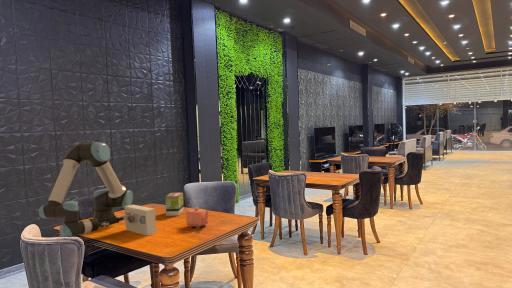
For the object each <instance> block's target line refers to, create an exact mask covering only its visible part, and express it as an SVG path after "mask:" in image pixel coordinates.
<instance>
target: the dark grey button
mask: <svg viewBox="0 0 512 288" xmlns="http://www.w3.org/2000/svg"><path fill="white" fill-rule="evenodd" d="M140 223H141V224H144V223H145V216H141V217H140Z"/></svg>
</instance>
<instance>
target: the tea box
mask: <svg viewBox="0 0 512 288" xmlns="http://www.w3.org/2000/svg"><path fill="white" fill-rule="evenodd" d="M184 208H185V207H184V192H170V193H168V194H167V195H166V196H165V216H166V217H174V216H175V217H177V216H178V217H180V215H181V214H182V213H183V212H184Z"/></svg>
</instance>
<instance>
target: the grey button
mask: <svg viewBox="0 0 512 288" xmlns="http://www.w3.org/2000/svg"><path fill="white" fill-rule="evenodd" d="M128 220H129V222H130V223H133V222H135V217H134V216H133V215H131V216H129V218H128Z"/></svg>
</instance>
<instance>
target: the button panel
mask: <svg viewBox="0 0 512 288" xmlns="http://www.w3.org/2000/svg"><path fill="white" fill-rule="evenodd" d="M126 213H130V214H131V215H133V216H134V217H135V222H133V223H130V222H129V220H124V221H125V230H126V231H130V232H133V233H137V234H140V235H143V236H146V237H147V236H150V235H154V234H157V225H156V224H157V223H156V208H152V207H149V206H148V207H147V206H142V205H138V204H131V205H129V206H125V208H124V215H126ZM141 216H145V223H144V224H141V223H140V217H141Z"/></svg>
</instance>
